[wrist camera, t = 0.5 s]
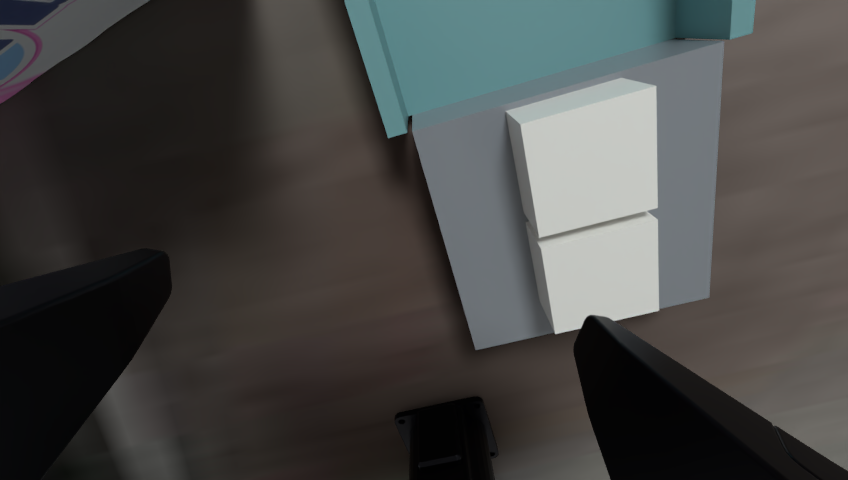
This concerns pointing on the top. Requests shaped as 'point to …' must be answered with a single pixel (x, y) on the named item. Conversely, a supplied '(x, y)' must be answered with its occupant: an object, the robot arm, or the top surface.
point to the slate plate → (500, 195)
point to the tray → (512, 42)
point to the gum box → (49, 34)
